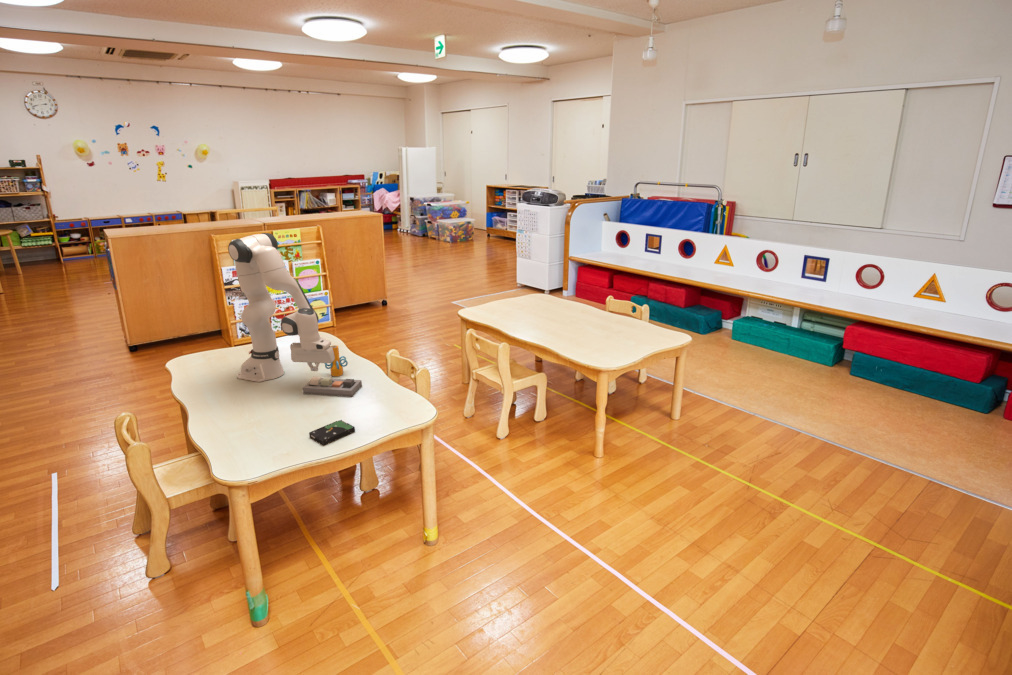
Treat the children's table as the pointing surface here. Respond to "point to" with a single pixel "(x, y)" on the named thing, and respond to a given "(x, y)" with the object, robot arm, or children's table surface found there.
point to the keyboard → (332, 389)
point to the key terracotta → (337, 384)
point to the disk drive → (331, 432)
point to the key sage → (326, 381)
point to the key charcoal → (348, 383)
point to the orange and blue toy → (336, 363)
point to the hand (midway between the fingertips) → (314, 370)
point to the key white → (315, 381)
